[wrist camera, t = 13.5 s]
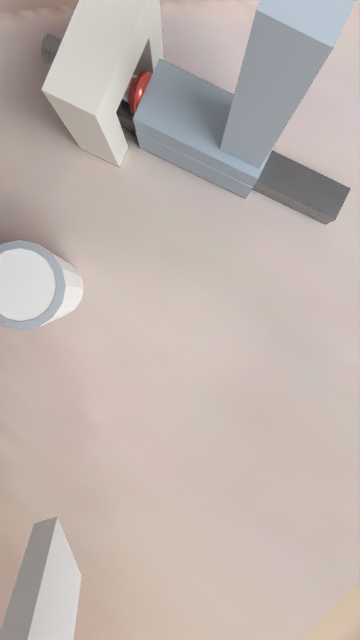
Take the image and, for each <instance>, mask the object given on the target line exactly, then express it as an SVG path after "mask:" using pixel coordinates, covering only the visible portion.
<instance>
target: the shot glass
mask: <svg viewBox="0 0 360 640" xmlns="http://www.w3.org/2000/svg"><path fill="white" fill-rule="evenodd" d="M83 289H84V287H83V283H82V278H81V276H80V274H79V273H78V271H77V270H76V268H75V267H74V266H72V265H71V264H69V263H68V262H66V261H65V260H63V259H62V258H60V257H58V256H57V255H55V254H53V253H52V252H50V251H49V250H47V249H45V248H44V247H42V246H41V245H39V244H37V243H33V242H28V241H23V240H16V241H11V242H6V243H2V244H1V245H0V324H2V325H3V326H5V327H10V328H14V329H19V330H25V329H30V328H35V327H40V326H42V325H44V324H46V323H49V322H51V321H53V320H55V319H58V318H60V317H62V316H65V315H67V314H68V313H70V312H71V311H73V310H74V309H75V308H76V307H77V305H78V304H79V302H80V301H81V299H82V294H83Z"/></svg>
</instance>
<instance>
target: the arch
mask: <svg viewBox="0 0 360 640" xmlns="http://www.w3.org/2000/svg"><path fill="white" fill-rule="evenodd" d="M159 58H160V59H162V60H164V56H163V42H162V28H161V14H160V0H79V2H78V4H77V6H76V9H75V11H74V14H73V16H72V18H71V21H70V23H69V25H68V28H67V30H66V32H65V35H64V37H63V39H62V42H61V44H60V47H59V49H58V51H57V54H56V56H55V58H54V61H53V63H52V65H51V68H50V70H49V73H48V75H47V77H46V80H45V82H44V84H43V87H42V89H41V90H42V92H43V93H44V95H45V96H46V97H47V99H48V100H49V102H50V103H51V105H52V106H53V108H54V109H55V111H56V112H57V114H58V115H59V117H60V118H61V120H62V121H63V123H64V124H65V126H66V127H67V129H68V130H69V132H70V133H71V135H72V136H73V138H74V139H75V141H76V142H77V144H78V145H79V147H80V148H81V149H83V150H85V151H87V152H89V153H91V154H93V155H95V156H97V157H99V158H101V159H103V160H105V161H108V162H110V163H112V164H114V165H116V166H118V167H120V165H121V163H122V161H123V158H124V156H125V154H126V152H127V149H128V145H127V142H126V139H125V136H124V134H123V131H122V128H121V125H120V122H119V119H118V116H117V114H116V111H117V109H118V107H119V105H120V102H121V100H122V98H123V95H124V93H125V91H126V89H127V86H128V84H129V82H130V80H131V77H132V75H133V74H134V75H136V76H138V75H139V73H140V72H141V71H142V70H146V71H148V72H150V73H152V74H153V72H154V69H155V67H156V65H157V63H158V60H159Z"/></svg>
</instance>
